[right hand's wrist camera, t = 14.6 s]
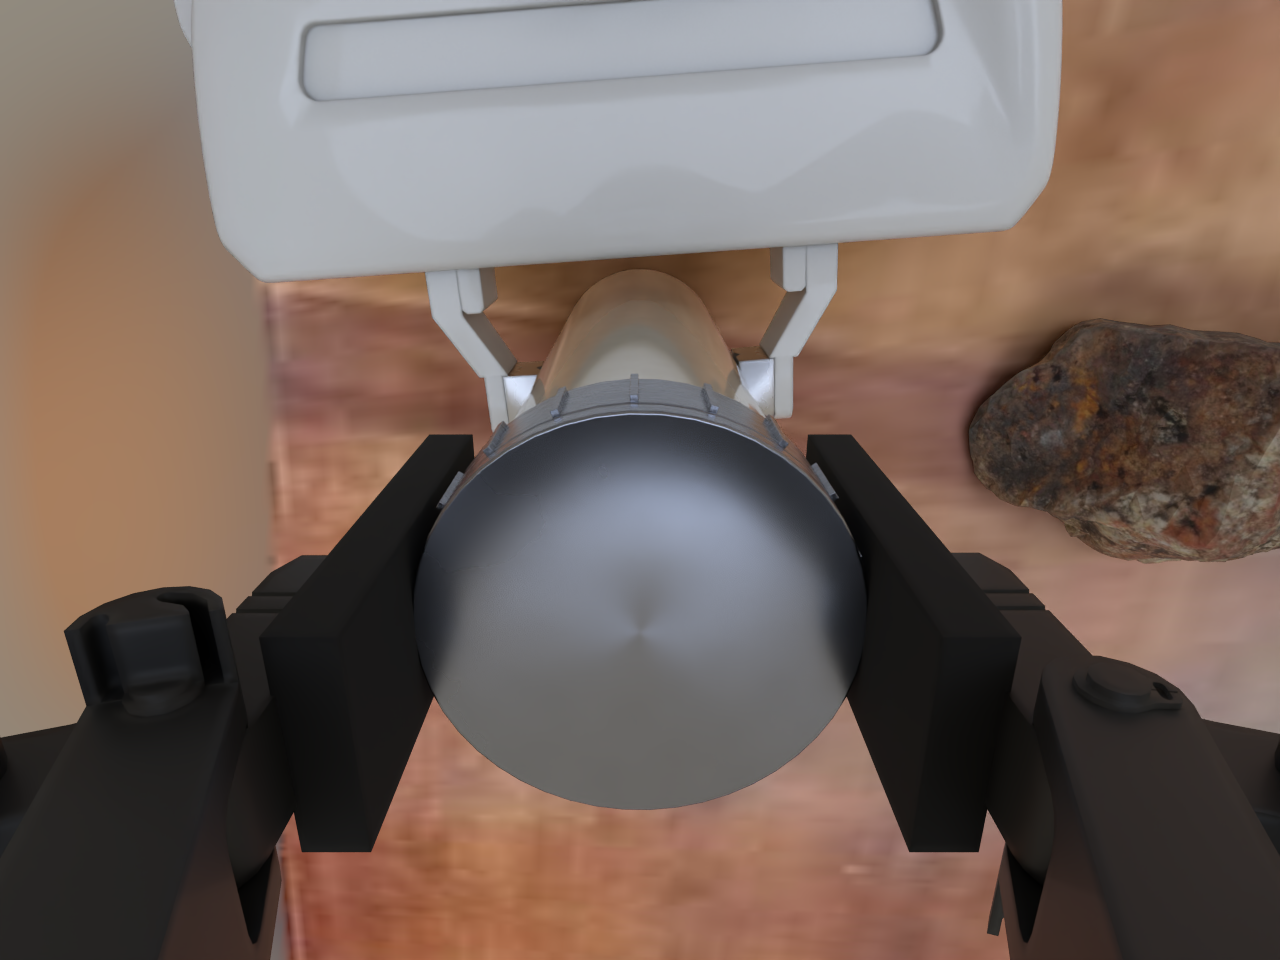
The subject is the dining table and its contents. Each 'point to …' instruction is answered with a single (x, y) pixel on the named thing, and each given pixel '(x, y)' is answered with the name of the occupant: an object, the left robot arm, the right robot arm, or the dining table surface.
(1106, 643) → the dining table surface
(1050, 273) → the dining table surface
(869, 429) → the dining table surface
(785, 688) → the lid
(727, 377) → the beige cylindrical bottle
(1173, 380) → the rock
